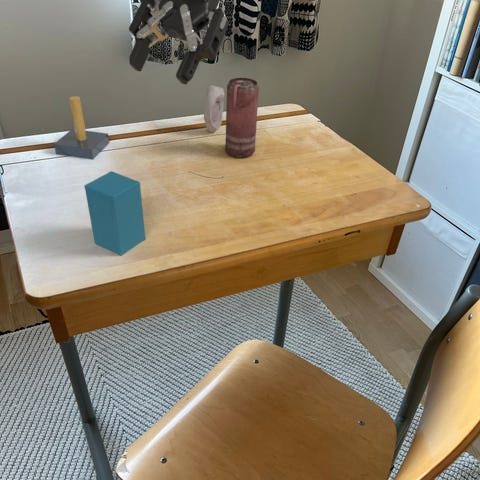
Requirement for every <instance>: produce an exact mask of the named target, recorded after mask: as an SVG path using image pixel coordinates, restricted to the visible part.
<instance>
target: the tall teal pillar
mask: <svg viewBox="0 0 480 480" xmlns="http://www.w3.org/2000/svg"><path fill="white" fill-rule="evenodd" d="M84 191H85V197H86V202H87V207H88V213H89V219H90V225H91V230H92V236H93V241H94V244H95V245H97V246H100V247H102V248H104V249H106V250H108V251H109V252H112V253H114V254H116V255H118V256H123V255H125V254H126V253H128V252H129V251H131V250H132V249H134V248H135V247H136V246H138V245H139V244H141V243H142V242H144V241H145V240H146V232H145V221H144V209H143V201H142V190H141V181H139V180H137V179H136V180H135V179H134V178H130V177H129V176H126V175H123V174H120V173H117V172H116V171H112V170H111V171H109V172H107V173H105V174H103V175H101V176H99V177H97V178H96V179H93V180H92V181H90V182H88V183H86V184H84Z"/></svg>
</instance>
